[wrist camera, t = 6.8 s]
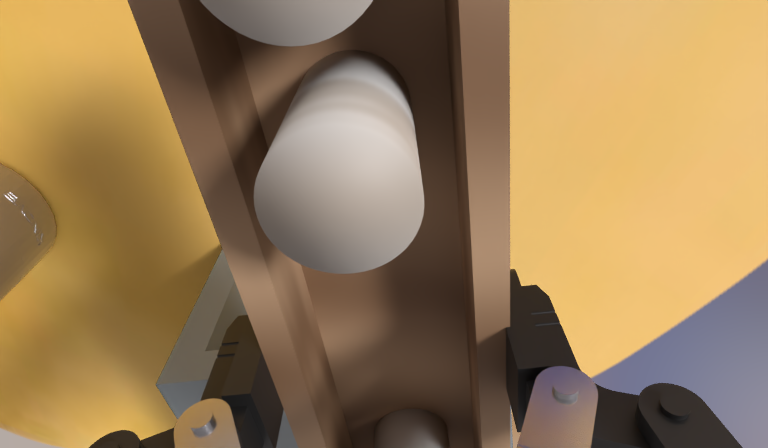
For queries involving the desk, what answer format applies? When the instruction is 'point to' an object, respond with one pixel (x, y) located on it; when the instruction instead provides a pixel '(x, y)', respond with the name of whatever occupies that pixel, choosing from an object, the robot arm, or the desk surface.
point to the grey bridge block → (210, 347)
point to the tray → (402, 298)
